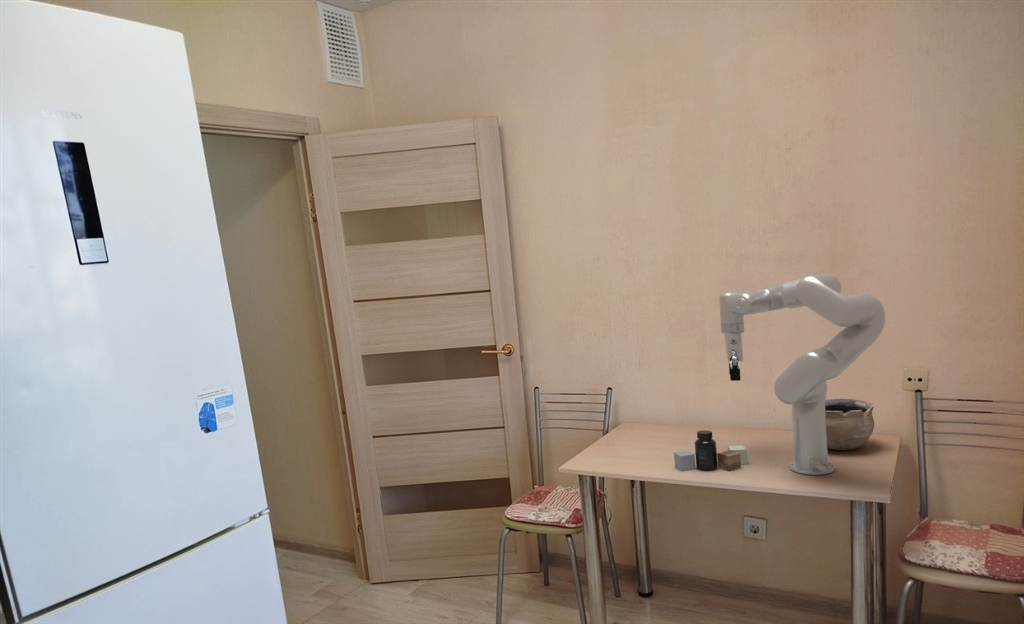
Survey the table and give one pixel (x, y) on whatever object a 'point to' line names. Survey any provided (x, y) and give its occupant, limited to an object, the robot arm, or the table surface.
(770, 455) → the table surface
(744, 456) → the sage cube
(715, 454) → the supplement bottle
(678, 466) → the slate cube
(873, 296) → the robot arm
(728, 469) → the walnut cube
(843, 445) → the ceramic bowl
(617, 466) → the table surface
